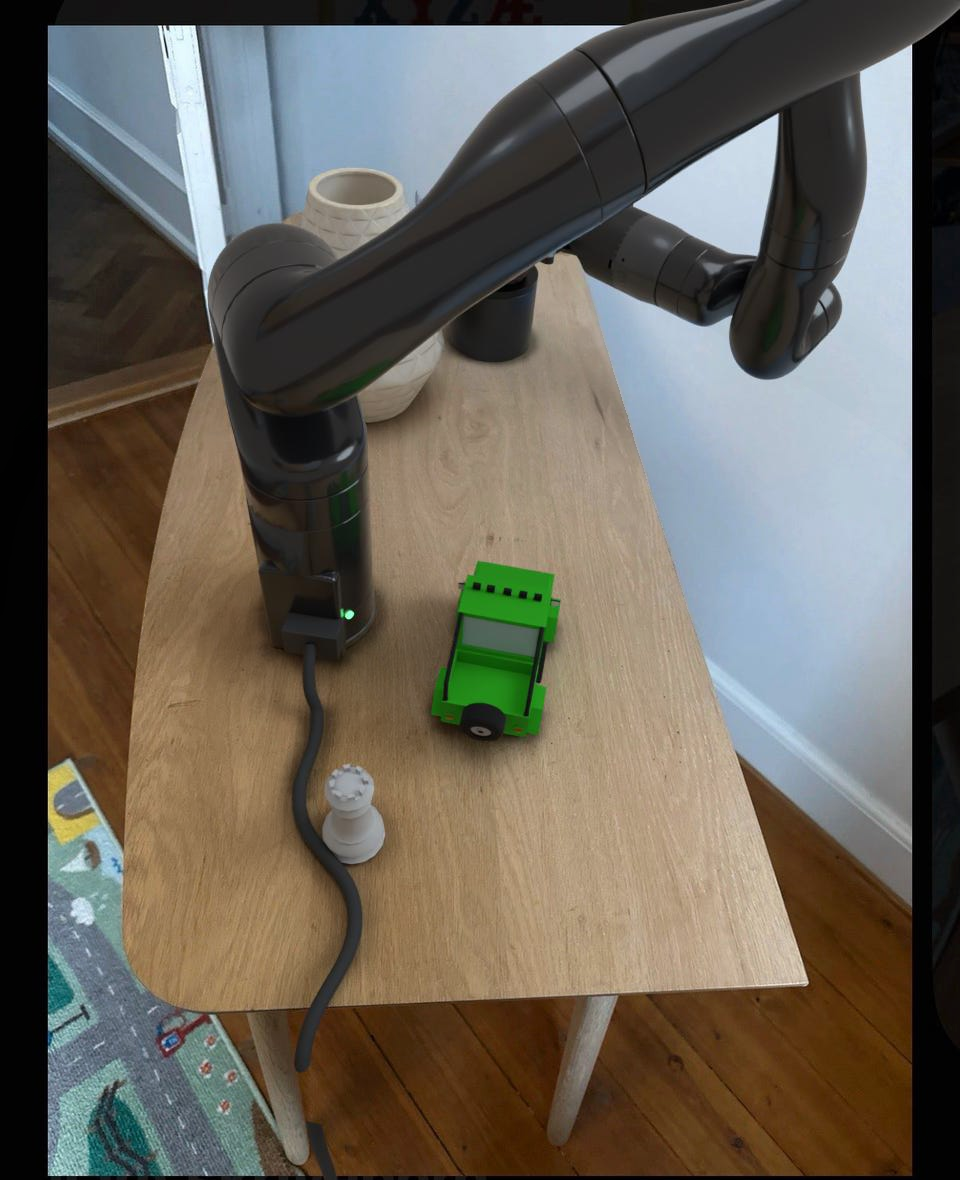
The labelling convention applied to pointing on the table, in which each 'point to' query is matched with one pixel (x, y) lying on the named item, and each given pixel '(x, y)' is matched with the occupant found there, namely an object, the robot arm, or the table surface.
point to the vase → (345, 222)
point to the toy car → (498, 653)
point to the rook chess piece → (352, 816)
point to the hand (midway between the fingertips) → (517, 197)
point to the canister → (498, 322)
